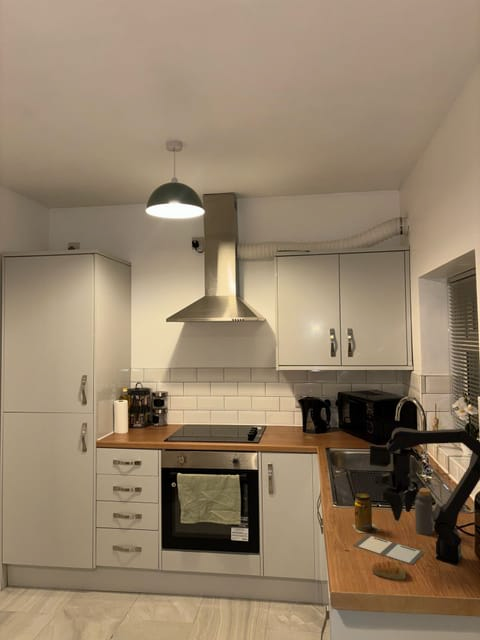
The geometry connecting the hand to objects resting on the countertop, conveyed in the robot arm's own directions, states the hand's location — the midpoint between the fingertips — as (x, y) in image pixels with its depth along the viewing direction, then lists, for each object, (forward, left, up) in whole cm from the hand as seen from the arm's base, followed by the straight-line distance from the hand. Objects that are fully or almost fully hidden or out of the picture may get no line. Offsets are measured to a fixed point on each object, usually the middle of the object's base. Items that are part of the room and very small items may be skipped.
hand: (402, 516), depth 149 cm
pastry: (-2, +15, -12) cm, 19 cm away
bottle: (0, -21, -12) cm, 24 cm away
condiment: (+18, -10, -12) cm, 24 cm away
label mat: (+5, 0, -12) cm, 13 cm away
